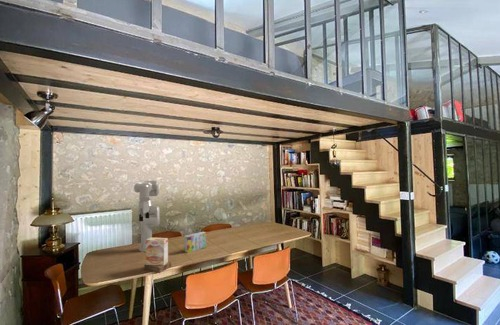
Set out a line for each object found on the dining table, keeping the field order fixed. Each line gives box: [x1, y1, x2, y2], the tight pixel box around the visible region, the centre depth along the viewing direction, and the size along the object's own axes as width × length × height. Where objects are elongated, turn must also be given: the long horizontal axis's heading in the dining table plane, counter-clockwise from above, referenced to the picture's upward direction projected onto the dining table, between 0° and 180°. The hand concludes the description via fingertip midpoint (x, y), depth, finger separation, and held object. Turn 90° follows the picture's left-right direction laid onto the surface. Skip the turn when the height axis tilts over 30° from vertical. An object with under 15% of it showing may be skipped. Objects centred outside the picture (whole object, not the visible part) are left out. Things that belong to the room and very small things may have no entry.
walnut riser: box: [143, 261, 172, 274], centre depth 189 cm, size 12×16×4 cm
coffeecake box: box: [145, 236, 169, 266], centre depth 188 cm, size 15×7×20 cm, turn 82°
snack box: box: [183, 231, 207, 254], centre depth 230 cm, size 21×6×15 cm, turn 135°
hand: (144, 219), depth 201 cm, fingers open, 9 cm apart
